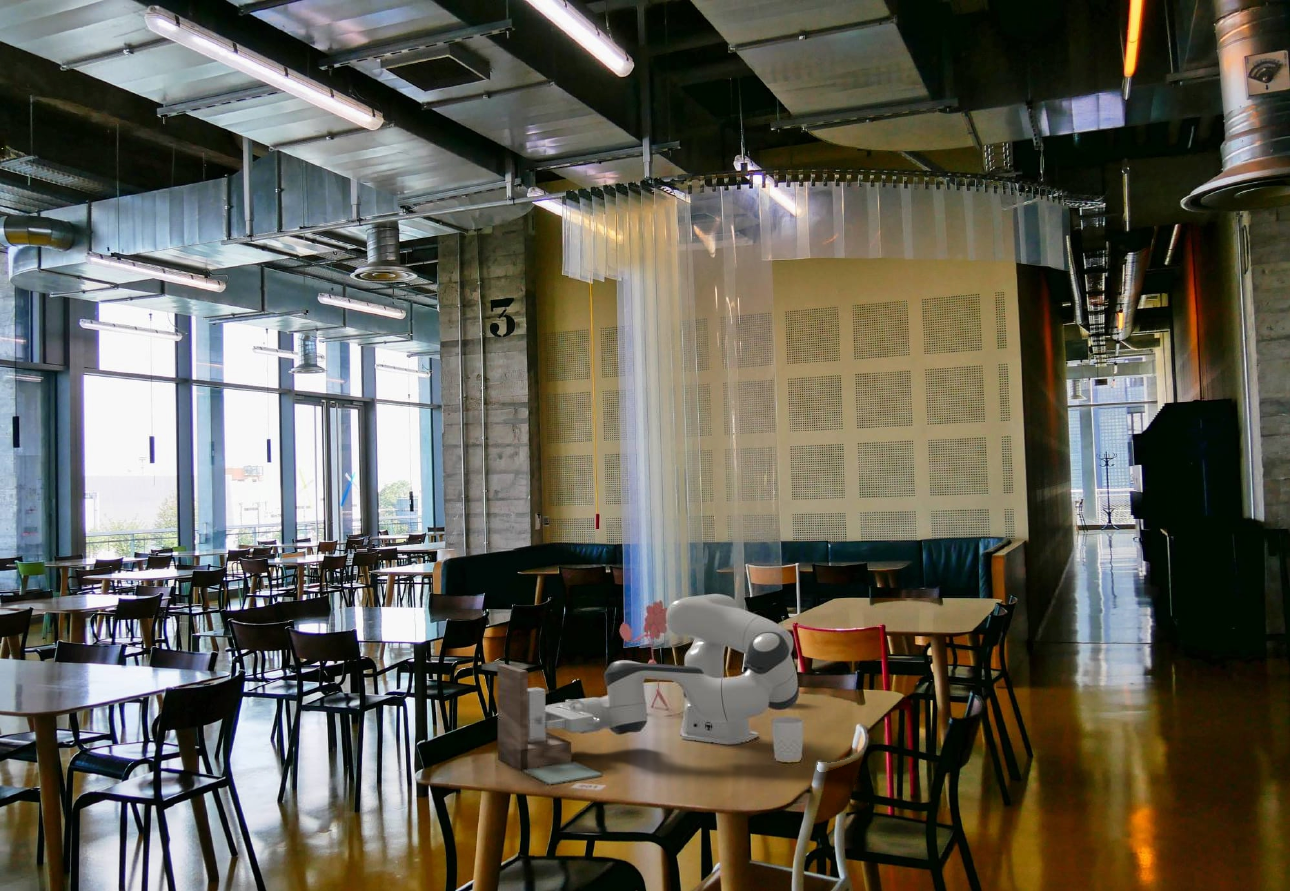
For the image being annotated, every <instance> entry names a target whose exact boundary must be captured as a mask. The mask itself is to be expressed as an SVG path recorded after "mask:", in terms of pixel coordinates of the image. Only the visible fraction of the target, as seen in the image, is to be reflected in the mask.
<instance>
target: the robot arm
mask: <svg viewBox="0 0 1290 891" xmlns="http://www.w3.org/2000/svg"><path fill="white" fill-rule="evenodd" d="M667 608H668V609H667V612H666V622H667V623H666V625H667V626H668V629H669V630H670V632H671V633H673V634H674V635H677V636H682V637H686V638H687V637H689V638H693V643H691V644H692V645H691V646H690V648H689V649H688V650H687V651H686V653H685V655H684V665H679V664H663V663H657V664H648V663H642V662H637V661H634V660H633V661H632V660H627V659H625V660H624V659H622V660H616V661H614V662H611V663H610V664H609V665H608V667H607V669H606V670H605V672H604V674H603V678H604V682H605V686H606V690H607V691H606V692H607V695H605V696H603V697H597V696H596V697H586V698H578V699H576V698H575V699H565V700H564V701H565V702H564V701H563V702H556V703H552V704H547V705H546V704H545V728H546V729H547V730H552V729H557V730H563V731H565V732H568V733H572V734H577V733H579V734H589V733H590V734H591V733H596V732H601V731H602V730H605V729H606V730H610V731H611V732H612V733H614V734H616V735H617V736H618V735H620V736H621V735H624V734H627V733H639V732H641V731H642V730H643V729H644V727H645V726H646V725H647V723H648V709H647V702H646V703H645V701H646V696H645V695H646V694H645V688H644V681H645V680H646V679H647V680H648V679H649V680H658V679H659V680H661V681H672V682H674V683H676V684H677V685H678V686H679V687H680V688H681V690H682V691H683V697H684V705H683V706H684V707H683V717H682V723H681V727H680V732H679V734H680V735H681V739H682V740H687V741H695V740H696V741H697V742H705V743H711V742H713V744H721V745H737V744H742V743H741V742H743V743H746V742H745V741H747V740H750V739H752V738H755V737H756V736H757V735H758V736H759V733H758V732H757V731H753V730H751V728H750V723H749V722H750V721H749V719H751V718H754V717H757V716H761V715H763V714H764V713H765V712H766V711H767V710H768V708H770V709H772V710H775V711H782V710H783V711H784V710H786V709H790V708H791V707H792V706H794V705H795V704H796V703H797V701H798V699H799V695H800V694H799V693H800V684H799V682H798V675H797V670H796V665H795V663H794V661H793V656H792V652H793V649H794V637H793V636H792V634H791V633H790V631H789V630H787V629H786V628H785V627H783V626H782V625H780V624H778V623H776V622H775V621H773V620H771V619H768V618H766V617H765V616H764V617H763V616H761V615H758V614H756V613H753V612H751V611H748V610H746V609H743V608H740V607H739V606H738V604H737V601H736V600H735V599H734V598H733V597H731V596H729V595H726V594H721V593H720V594H719V593H711V594H701V595H695V596H686V597H682V598H679V599H677V600H675V601H673V602H671V603H670V604H669V605H668V607H667ZM726 647H727V648H731V649H732V650H735V651H738V652H740V653H743V654H745V655H746V656H745V658H744V662H743V664H744V666H745V667H746V668H747V669H746V671H745V672H744V673H742V674H741V675H737V676H727V677H724V659H725V658H724V657H725V656H724V655H725V650H726ZM696 741H695V742H696ZM747 742H748V741H747Z"/></svg>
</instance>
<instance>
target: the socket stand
mask: <svg viewBox="0 0 1290 891" xmlns="http://www.w3.org/2000/svg"><path fill="white" fill-rule="evenodd" d="M527 688H528V671H527V670H526V669H523V668H518V667H515V666H512V665H510V664H509V665H508V664H506V663H503V664H501V663H500V664H497V759H498V760H500V761H502V762H503V763H505V764H507V765H509V766H510V767H513V768H515V769H517V770H519V771H524V770H526V769H527V770H528V769H534V768H537V767H539V768H541V767H547V766H549V765H551V766H553V765H559V764H565V763H571V762H572V742H571V741H569V740H567V739H564V738H563V737H559V736H557V735H554V734H552V733H550V732H548V731H546V742H542V743H535V744H529V745H528V695H527Z"/></svg>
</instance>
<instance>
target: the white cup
mask: <svg viewBox="0 0 1290 891" xmlns="http://www.w3.org/2000/svg"><path fill="white" fill-rule="evenodd" d="M771 728H772V729H771V730H772V742H773V750H774V752H773V753H774V759H775V758H776V759H778V760H784V761H793V760H799V759H801V758H802V759H803V744H804V743H803V741H804V720H803V719H802V718H799V717H794V716H793V717H792V716H779V717H773V718H772V719H771Z"/></svg>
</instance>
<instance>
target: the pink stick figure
mask: <svg viewBox="0 0 1290 891" xmlns="http://www.w3.org/2000/svg"><path fill="white" fill-rule="evenodd" d="M652 604H653V605H651V604H649V605H647V606H646V608H645V611H646V614H647V615H646V616H645V617H644V626H643V632H644V633H645V634H643V635H641V636H639V637H637V638H635V639H633V637H632V633H633V632H632V628H631V627H630V625H629V624H628V623H625V622H624V621H623V622H622V624H621V625H620V626H619V627H620V628H619V634H620V636H621V638H622V639H623V640H624V641H625V642H626V643H629V642H630V640H631V641H632V643H634V642H637V641H639V640H641V639H643V638H644V637H645V638H646V639H647V641H648V643H649V644H650V651H651V658H652V659H649V661H648V663H647V664H658V663H657V661H656V660H655V656H654V646H653V643H652V641H651V640H654V639H656V640H659V639H660V637H661V634H665V633H667V630H668V628H667V626H666V625H667V622H666V612H667V609H668V607H664V603H663V600H660V599H659V601H655V600H654V602H653V603H652ZM649 637H650V638H649ZM659 680H660V679H657V688H656V689H655V692H656V693H655V696H654V699H653V701H652V704H651V705H650V707H651V708H653V707H654V704H655V703H656V700H657V698H659V699H660V701H661V703H662V704H663V705H664V707H665V708H668V704H667V701H666V700H665V698H664V696H663V694H662V693H661V691H660V682H659ZM645 703H646V704H647V701H646V700H645ZM682 713H683V714H684V711H681V712H679V713H676V714H675V713H674V716H676V715H680V714H682ZM672 716H673V714H669V715H668V717H672Z"/></svg>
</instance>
